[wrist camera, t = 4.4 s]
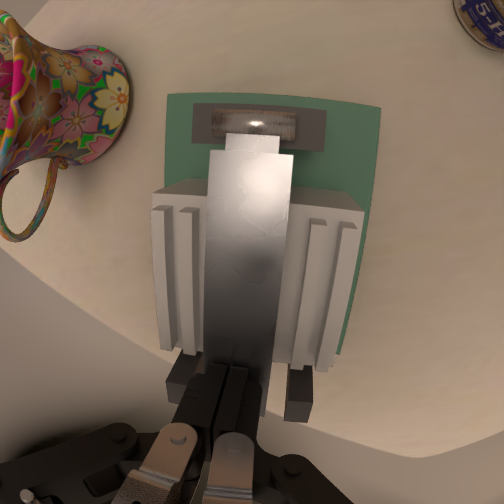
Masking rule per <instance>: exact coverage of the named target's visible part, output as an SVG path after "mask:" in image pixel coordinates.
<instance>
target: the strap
mask: <svg viewBox="0 0 504 504" xmlns="http://www.w3.org/2000/svg"><path fill="white" fill-rule="evenodd" d="M296 115H297V113H289V112H276V111H260V110H238V109H215V110H214V111H213V114H212V120H211V130H212V134H213V136H215V137H226V144H225V150H210V162H209V178H208V195H207V214H206V236H205V264H204V304H203V374H207V373H208V370H209V367H210V365H211V363H213V364H220V365H227V366H229V369H228V374H229V370H230V367H231V366H235V367H243V368H248V375H247V380H251V381H259V383H260V386H261V388H262V390H263V391H262V399H261V407H260V415H259V416H263V417H264V415H265V408H266V401H267V394H268V387H269V379H270V372H271V364H272V356H273V349H274V341H275V333H276V324H277V316H278V308H279V299H280V290H281V281H282V272H283V263H284V253H285V243H286V233H287V223H288V213H289V202H290V191H291V179H292V167H293V155H286V154H279V150H280V140H284V141H295V129H296Z"/></svg>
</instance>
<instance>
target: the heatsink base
mask: <svg viewBox="0 0 504 504" xmlns="http://www.w3.org/2000/svg"><path fill="white" fill-rule="evenodd" d="M215 109H238V110H260V111H276V112H289V113H297V115H296V129H295V141H284V140H280V150H279V154H286V155H293V167H292V179H291V191H290V202H289V213H288V223H287V233H286V243H285V253H284V263H283V272H282V281H281V290H280V299H279V308H278V316H277V324H276V333H275V341H274V349H273V356H272V362H280V363H288V374H287V387H286V400H285V412H284V421H290V422H302V423H307V422H308V419H309V415H310V412H311V408H312V405H313V372H312V366H315V371H320V372H328V368H329V367H332V366H333V362H334V358H335V354H338V355H340V351H341V347H342V343H343V339H344V336H345V332H346V328H347V324H348V319H349V315H350V311H351V307H352V302H353V298H354V293H355V289H356V284H357V279H358V274H359V269H360V264H361V259H362V254H363V248H364V243H365V237H366V231H367V225H368V219H369V212H370V206H371V199H372V191H373V184H374V176H375V167H376V158H377V149H378V138H379V126H380V113H381V108H379V107H373V106H368V105H362V104H356V103H349V102H342V101H335V100H327V99H319V98H310V97H299V96H288V95H274V94H255V93H178V94H168V96H167V114H166V137H165V188H163V189H160V190H158V191H156V192H153V193H152V210H151V237H152V257H153V273H154V287H155V299H156V310H157V320H158V330H159V339H160V347H161V349H162V350H167V351H172V350H173V349H174V347H179V348H183V349H182V350H181V352H180V354H179V356H178V358H177V360H176V362H175V364H174V366H173V368H172V370H171V372H170V374H169V375H168V377H167V379H166V387H167V394H168V400H169V402H171V403H175V404H179V403H180V401H181V398H182V397H183V394H184V391H185V390H186V387H187V384H188V382H189V380H190V379H191V378H192V377H193V376H194V375H195V374H197V373H202V374H203V304H204V264H205V236H206V214H207V195H208V178H209V162H210V150H225V144H226V137H215V136H213V134H212V130H211V120H212V114H213V111H214V110H215Z"/></svg>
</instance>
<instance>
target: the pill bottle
mask: <svg viewBox="0 0 504 504" xmlns="http://www.w3.org/2000/svg"><path fill="white" fill-rule="evenodd" d="M454 6H455V10H456V13H457V15H458V18H459V20H460V21H461V23H462V25H463V26H464V28H465V29H466V30H467V31H468V33H469V34H470V35H471V36H472V37H473V38H474V39H475V40H477V41H478V42H479V43H480V44H482V45H484V46H485V47H487V48H490V49H493V50H504V0H454Z"/></svg>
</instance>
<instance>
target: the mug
mask: <svg viewBox="0 0 504 504" xmlns="http://www.w3.org/2000/svg"><path fill="white" fill-rule="evenodd" d="M128 102H129V84H128V78H127V74H126V72H125V69H124V67H123V65H122V63H121V62H120V60H119V59H118V58H117V57H116V56H115V55H114V54H113V53H112V52H111V51H109V50H107V49H106V48H103V47H100V46H94V45H89V46H81V47H78V48H75V49H73V50H59V49H55V48H52V47H49V46H47V45H44V44H42V43H41V42H39V41H37V40H36V39H34V38H33V37H31V36H30V35H29V34H28V33H27V32H26V31H25V30H24V29H23V28H22V27H21V26H19V24H18V23H17V21H16V20H15V19H14V18H13V17H12V16H11V15H10V14H9V13H7V12H6V11H3V10H0V235H1V236H2V237H3V238H5V239H6V240H8V241H10V242H21V241H24V240H26V239H27V238H29V237H30V236H31V235H32V234H33V233H34V232H35V231H36V230H37V228H38V227H39V225H40V224H41V222H42V220H43V218H44V216H45V214H46V212H47V209H48V207H49V204H50V202H51V199H52V195H53V192H54V188H55V183H56V177H57V171H58V167H59V169H61V170H64V169H67V168H68V166H69V165H81V164H85V163H88V162H90V161H92V160H94V159H95V158H97V157H99V156H100V155H101V154H102V153H103V152H105V151H106V150H107V149H108V147H109V146H110V145H111V144H112V143H113V141H114V140H115V138H116V137H117V135H118V133H119V131H120V130H121V127H122V125H123V123H124V120H125V117H126V113H127V109H128ZM41 158H52V159H51V161H50V164H49V168H48V174H47V180H46V185H45V189H44V193H43V197H42V200H41V202H40V205H39V208H38V210H37V212H36V214H35V216H34V218H33V220H32V221H31V223H30V224H29V226H28V227H27V228H26V229H25V230H24V231H23V232H22V233H20V234H14V233H13V232H11V231H10V230H9V228H8V227H7V225H6V223H5V221H4V218H3V215H2V197H3V193H4V190H5V188H6V186H7V184H8V182H9V181H10V180H11V179H12V178H13V177H14V176H15V175H17V174H18V173H19V170H18V169H15V168H17V167H19V166H20V165H22V164H24V163H27V162H29V161H32V160H36V159H41ZM14 169H15V170H14ZM12 170H13V171H12Z"/></svg>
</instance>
